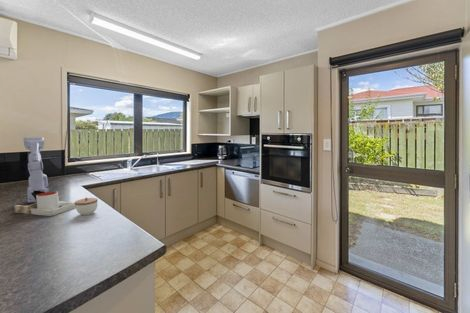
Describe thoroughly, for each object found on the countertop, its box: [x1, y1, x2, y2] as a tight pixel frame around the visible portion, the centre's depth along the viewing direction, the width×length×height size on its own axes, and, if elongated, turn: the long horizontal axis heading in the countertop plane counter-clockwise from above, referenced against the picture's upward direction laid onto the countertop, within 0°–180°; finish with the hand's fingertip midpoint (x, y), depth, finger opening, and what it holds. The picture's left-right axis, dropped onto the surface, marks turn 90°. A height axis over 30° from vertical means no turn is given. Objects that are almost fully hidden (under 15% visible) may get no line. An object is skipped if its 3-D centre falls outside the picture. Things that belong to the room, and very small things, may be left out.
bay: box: [13, 202, 37, 215], centre depth 134 cm, size 12×15×4 cm
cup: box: [36, 191, 60, 210], centre depth 132 cm, size 10×10×10 cm
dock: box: [30, 200, 76, 217], centre depth 131 cm, size 15×15×3 cm
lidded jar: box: [74, 196, 99, 216], centre depth 125 cm, size 11×11×9 cm
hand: (39, 202), depth 133 cm, fingers closed
